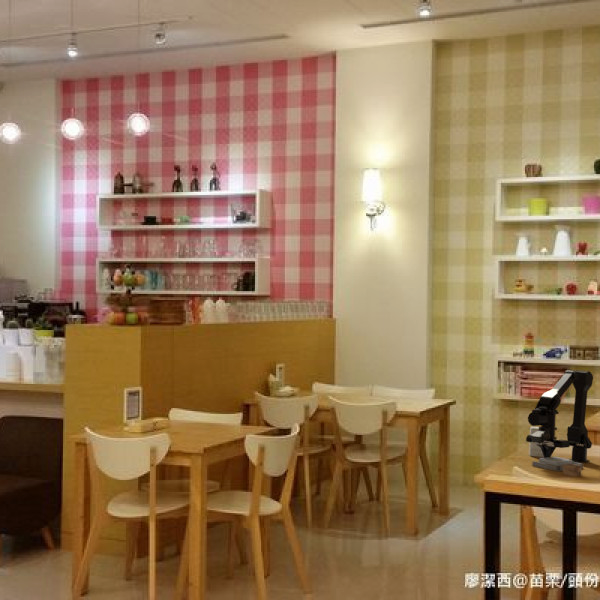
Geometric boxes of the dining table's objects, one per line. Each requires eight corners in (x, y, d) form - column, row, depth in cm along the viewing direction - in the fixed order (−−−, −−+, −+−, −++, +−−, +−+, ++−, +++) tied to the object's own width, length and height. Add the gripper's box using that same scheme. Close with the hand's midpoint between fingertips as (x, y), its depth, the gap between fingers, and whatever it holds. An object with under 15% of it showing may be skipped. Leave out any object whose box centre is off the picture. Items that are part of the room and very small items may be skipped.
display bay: (557, 463, 391) (557, 458, 391) (582, 468, 380) (583, 463, 380) (532, 466, 381) (532, 461, 381) (558, 471, 370) (558, 466, 370)
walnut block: (570, 473, 368) (570, 463, 368) (581, 475, 364) (581, 465, 364) (562, 474, 365) (563, 464, 365) (573, 476, 361) (573, 466, 361)
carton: (555, 466, 386) (555, 456, 386) (571, 469, 378) (572, 460, 379) (538, 467, 381) (539, 457, 381) (555, 471, 373) (556, 461, 373)
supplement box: (546, 457, 406) (547, 429, 406) (529, 456, 407) (530, 428, 407) (545, 454, 413) (546, 427, 413) (528, 453, 415) (529, 425, 415)
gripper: (518, 422, 388) (516, 459, 388) (554, 428, 373) (552, 466, 373) (535, 421, 395) (533, 457, 395) (571, 427, 380) (569, 464, 380)
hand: (546, 461), depth 385 cm, fingers closed
